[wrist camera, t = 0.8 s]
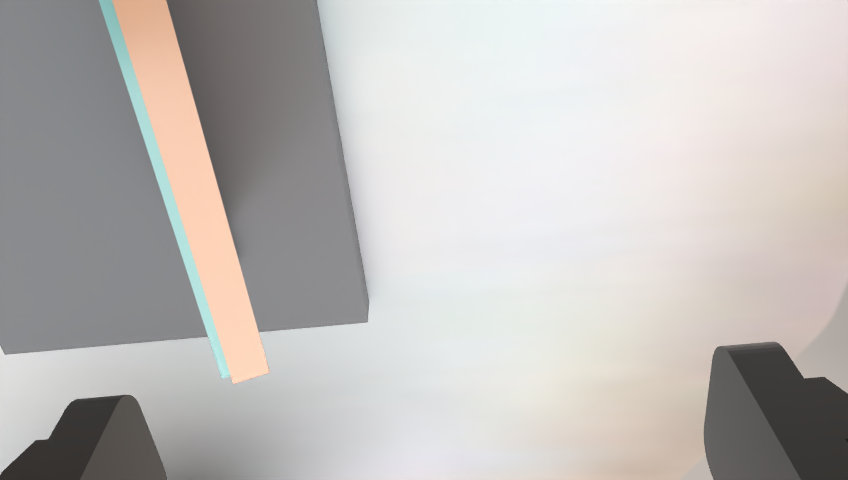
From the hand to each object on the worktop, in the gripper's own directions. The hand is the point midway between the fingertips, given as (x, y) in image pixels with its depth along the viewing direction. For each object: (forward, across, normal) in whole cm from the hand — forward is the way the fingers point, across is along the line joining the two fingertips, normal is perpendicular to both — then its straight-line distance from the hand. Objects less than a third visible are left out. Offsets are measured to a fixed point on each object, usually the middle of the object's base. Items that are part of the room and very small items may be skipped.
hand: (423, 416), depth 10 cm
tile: (+16, +7, +1) cm, 17 cm away
